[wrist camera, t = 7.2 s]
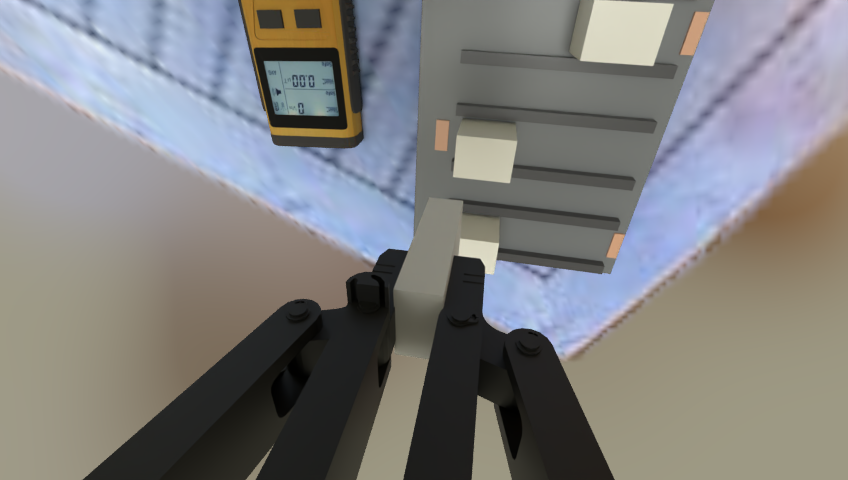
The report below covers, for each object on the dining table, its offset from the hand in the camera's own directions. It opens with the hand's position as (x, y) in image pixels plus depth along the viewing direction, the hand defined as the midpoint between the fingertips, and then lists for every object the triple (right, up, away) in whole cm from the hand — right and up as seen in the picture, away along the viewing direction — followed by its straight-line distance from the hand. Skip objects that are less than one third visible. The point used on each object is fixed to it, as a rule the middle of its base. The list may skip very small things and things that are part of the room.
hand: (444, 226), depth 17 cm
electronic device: (-10, +16, +14) cm, 23 cm away
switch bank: (+8, +8, +14) cm, 18 cm away
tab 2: (+4, 0, +17) cm, 17 cm away
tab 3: (+11, +13, +8) cm, 19 cm away
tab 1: (+4, +7, +13) cm, 15 cm away
